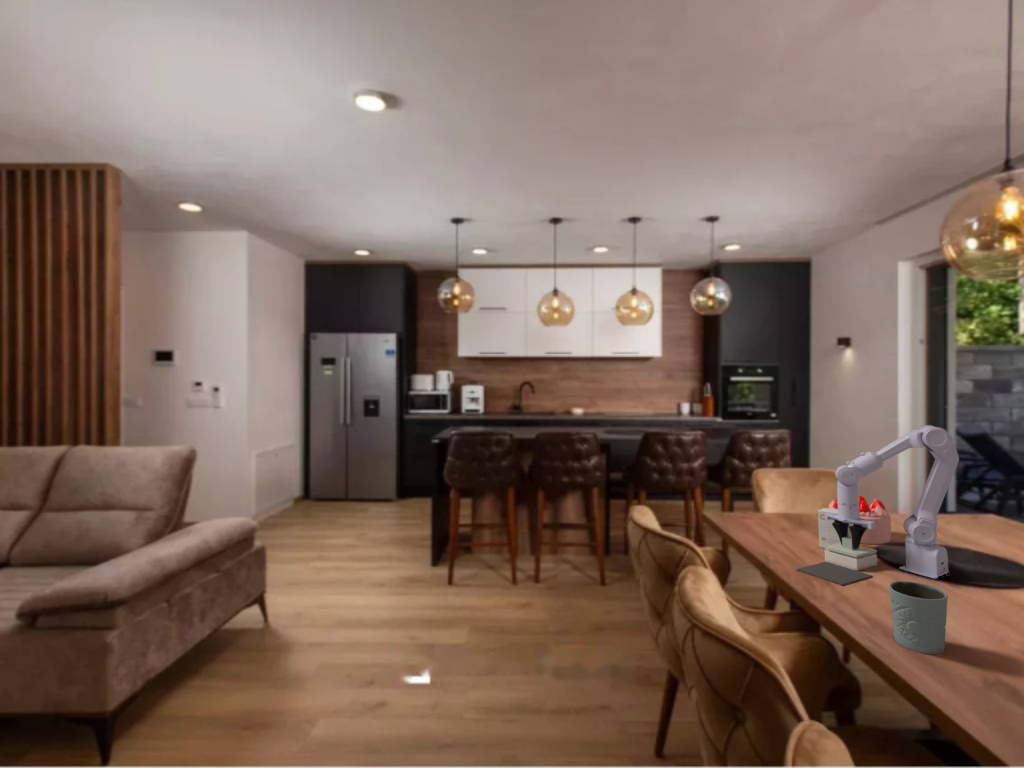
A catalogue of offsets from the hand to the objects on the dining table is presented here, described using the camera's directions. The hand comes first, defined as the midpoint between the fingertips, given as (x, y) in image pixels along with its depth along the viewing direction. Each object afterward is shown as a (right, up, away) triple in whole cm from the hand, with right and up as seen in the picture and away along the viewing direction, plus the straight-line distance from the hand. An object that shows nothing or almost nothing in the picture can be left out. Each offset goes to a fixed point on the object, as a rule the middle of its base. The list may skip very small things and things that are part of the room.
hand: (850, 546), depth 159 cm
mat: (-11, -6, -8) cm, 14 cm away
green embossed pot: (-19, -5, -50) cm, 54 cm away
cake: (+22, -6, +27) cm, 35 cm away
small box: (+5, -6, +15) cm, 17 cm away
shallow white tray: (0, -5, 0) cm, 5 cm away
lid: (0, -1, 0) cm, 1 cm away
